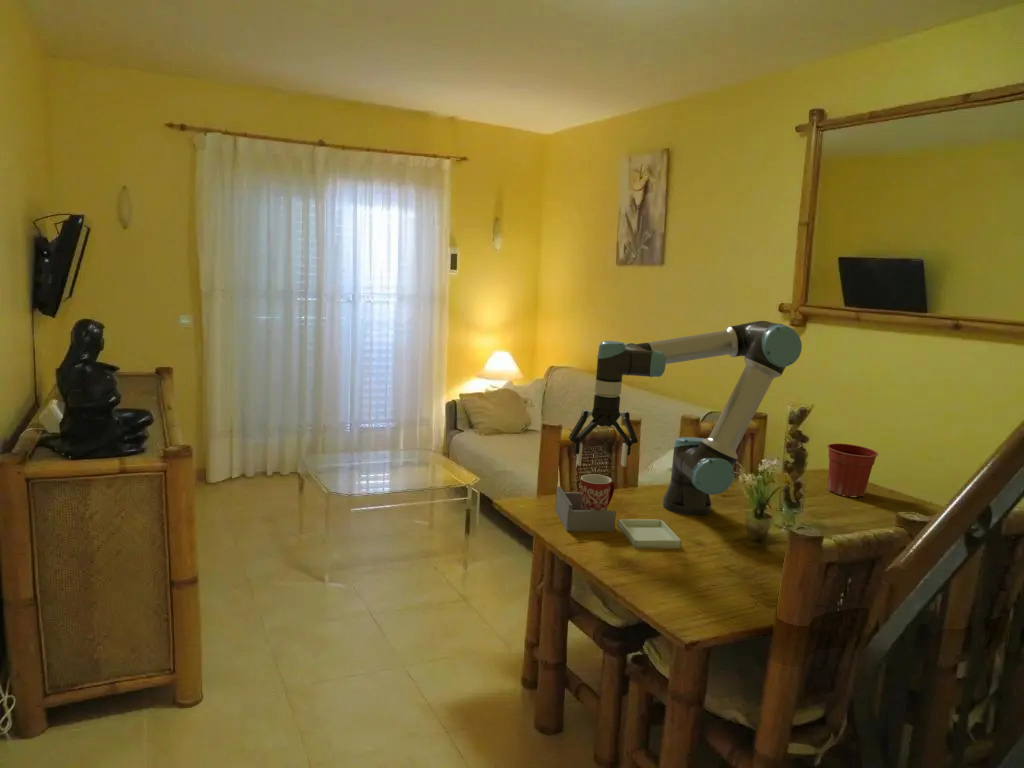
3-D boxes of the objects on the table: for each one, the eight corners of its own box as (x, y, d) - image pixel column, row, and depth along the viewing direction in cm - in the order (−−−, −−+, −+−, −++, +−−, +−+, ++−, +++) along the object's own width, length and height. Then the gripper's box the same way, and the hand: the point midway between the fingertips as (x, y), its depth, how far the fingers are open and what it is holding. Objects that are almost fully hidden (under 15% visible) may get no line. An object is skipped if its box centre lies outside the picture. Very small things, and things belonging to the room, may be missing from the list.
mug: (593, 529, 211) (597, 485, 208) (571, 520, 218) (574, 476, 215) (622, 521, 219) (626, 478, 217) (600, 512, 226) (603, 470, 223)
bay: (599, 511, 227) (601, 487, 225) (614, 531, 211) (616, 505, 209) (555, 510, 225) (557, 486, 223) (567, 531, 209) (569, 505, 207)
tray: (660, 526, 217) (661, 519, 216) (680, 548, 201) (681, 540, 201) (617, 526, 215) (618, 519, 214) (634, 548, 199) (635, 540, 199)
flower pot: (882, 499, 256) (889, 455, 253) (842, 501, 252) (849, 456, 249) (849, 484, 272) (855, 443, 269) (811, 486, 267) (817, 443, 265)
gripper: (644, 393, 217) (637, 462, 221) (562, 390, 213) (557, 460, 217) (652, 398, 210) (645, 469, 214) (568, 395, 206) (562, 467, 210)
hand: (601, 465), depth 215 cm, fingers open, 13 cm apart
